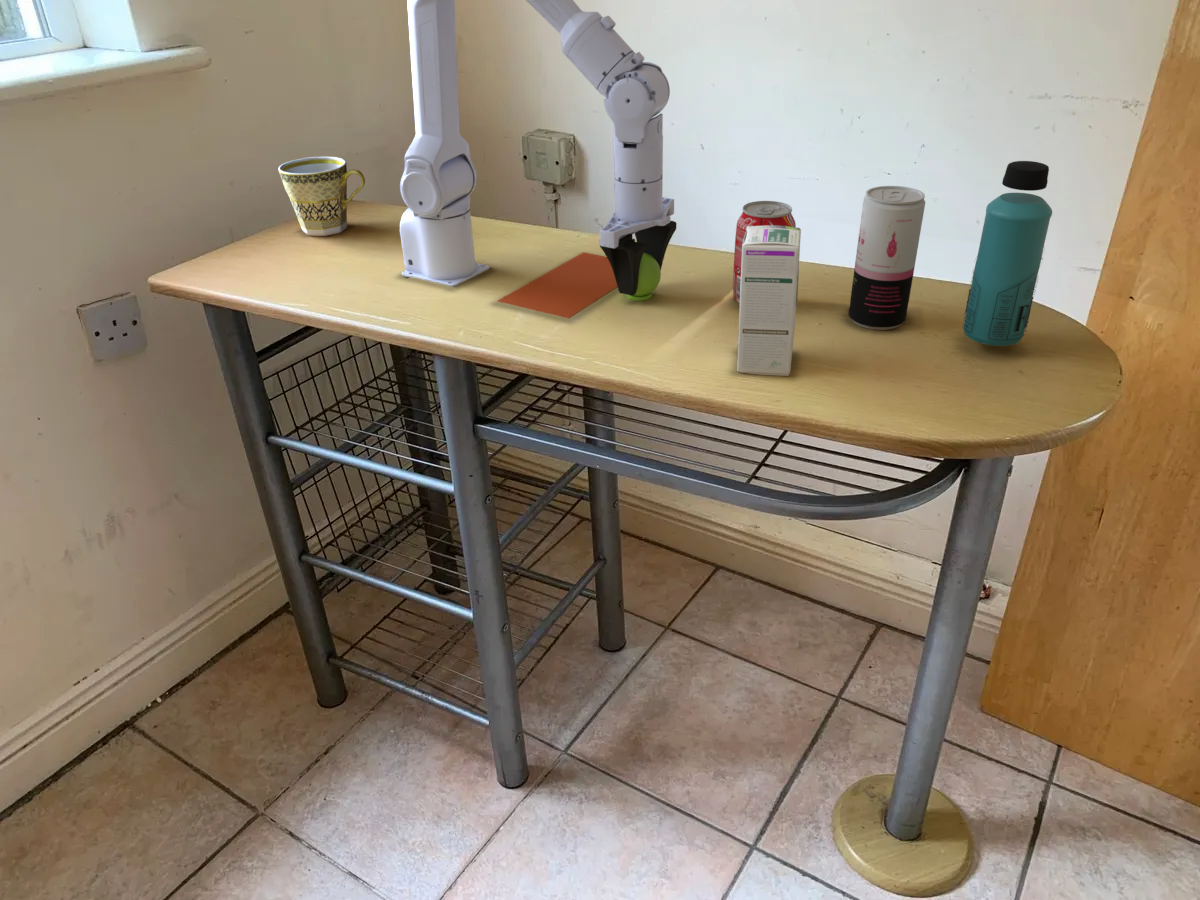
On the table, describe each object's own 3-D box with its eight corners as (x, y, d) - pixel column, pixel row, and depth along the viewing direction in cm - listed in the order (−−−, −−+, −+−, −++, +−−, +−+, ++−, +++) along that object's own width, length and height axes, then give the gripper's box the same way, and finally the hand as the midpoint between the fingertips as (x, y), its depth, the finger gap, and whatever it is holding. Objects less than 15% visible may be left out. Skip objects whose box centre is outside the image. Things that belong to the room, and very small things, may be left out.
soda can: (795, 296, 113) (804, 202, 106) (780, 318, 107) (789, 220, 101) (741, 289, 115) (747, 196, 109) (724, 309, 110) (729, 213, 103)
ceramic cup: (280, 238, 137) (266, 173, 132) (309, 218, 145) (296, 155, 140) (360, 241, 135) (348, 174, 130) (384, 220, 143) (374, 157, 138)
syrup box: (790, 377, 95) (803, 244, 87) (734, 373, 96) (742, 242, 88) (791, 353, 99) (804, 225, 92) (738, 350, 100) (745, 223, 93)
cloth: (497, 303, 113) (496, 300, 113) (583, 254, 128) (583, 252, 127) (568, 321, 108) (568, 318, 108) (650, 268, 122) (650, 265, 122)
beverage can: (909, 313, 107) (930, 188, 99) (900, 334, 102) (921, 205, 94) (854, 305, 110) (870, 183, 102) (842, 326, 105) (859, 199, 97)
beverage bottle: (1014, 364, 96) (1060, 175, 85) (950, 351, 99) (987, 167, 88) (1026, 341, 100) (1071, 159, 90) (965, 329, 103) (1001, 152, 93)
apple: (609, 299, 113) (608, 248, 109) (631, 285, 117) (631, 235, 113) (647, 307, 110) (647, 256, 107) (668, 292, 114) (669, 242, 111)
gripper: (636, 198, 98) (637, 312, 106) (696, 166, 109) (693, 272, 116) (583, 189, 102) (587, 301, 109) (646, 159, 112) (646, 263, 119)
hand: (638, 285), depth 113 cm, fingers closed on apple, 5 cm apart
